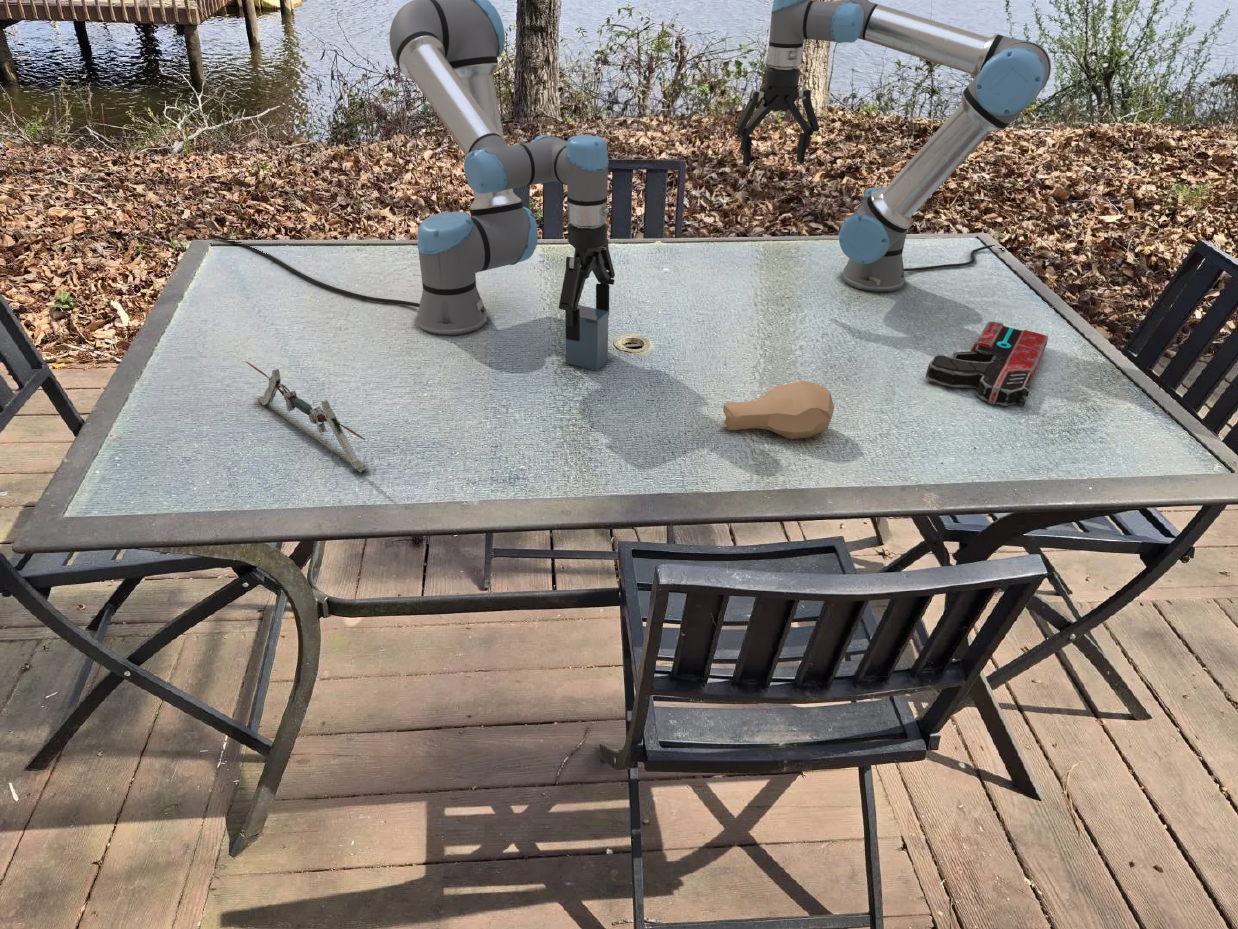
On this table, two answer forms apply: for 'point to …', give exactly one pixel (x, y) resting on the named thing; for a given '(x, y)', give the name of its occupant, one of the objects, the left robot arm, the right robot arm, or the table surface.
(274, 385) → the bow
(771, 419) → the squash
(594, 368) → the brick
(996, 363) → the gun
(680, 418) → the table surface
